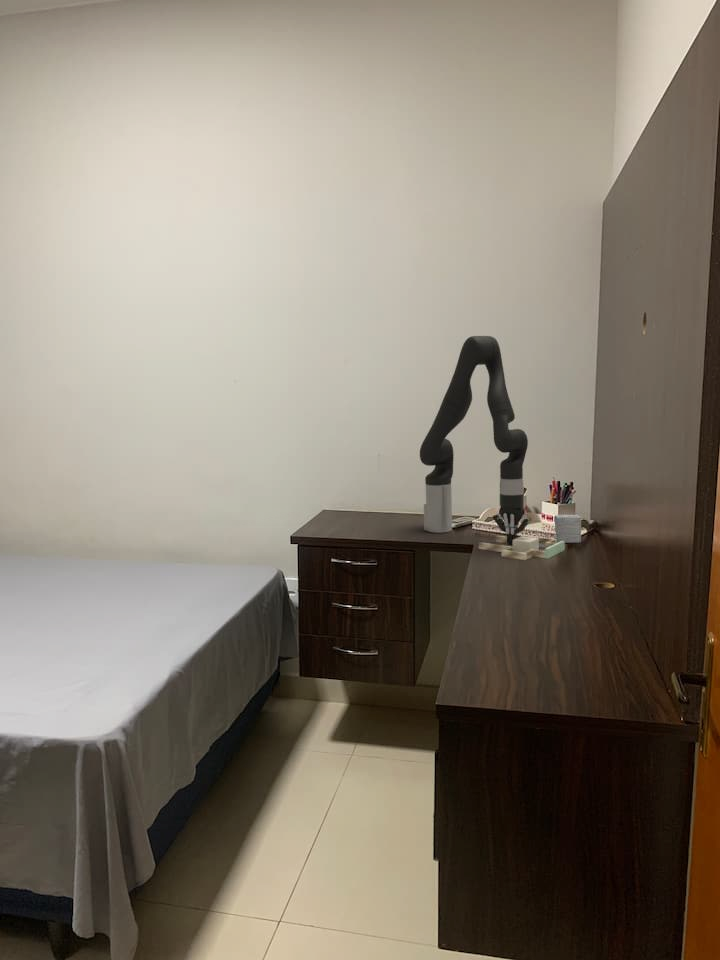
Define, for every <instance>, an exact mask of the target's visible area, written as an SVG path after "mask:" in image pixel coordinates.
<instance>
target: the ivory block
mask: <svg viewBox="0 0 720 960" xmlns="http://www.w3.org/2000/svg"><path fill="white" fill-rule="evenodd" d="M531 537H532V536H530V537H529V536H524V535H523V536H519V537H517V538H516V539H514V540H513V546H512V547H514V551H516V552H523V553H524V552H526V551H528V550H531V549H534V550H540V548H539V538H531Z"/></svg>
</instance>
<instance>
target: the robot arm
mask: <svg viewBox="0 0 720 960" xmlns="http://www.w3.org/2000/svg"><path fill="white" fill-rule="evenodd" d="M481 365H482V366H483V365H484V366H485V368H486V370H487V373H488V379H489V380H488V388H487V396H486V399H487V401H486V402H487V407H488V409H489V412H490V417H491V419H492V428H493V429H492V430H493V443H494V446H495V447H496V449H497V450H498V451H499V452H501V453H505V454H506V453H508V457H507V458H505V459H503V460H502V461H501V462H500V464H499V467H500V468H499V469H500V470H499V473H500V475H499V477H500V478H499V480H500V481H499V510H498V513H496V514H495V515H492V519H493V520H494V522H495V523H496V524H497V526H498V529H500V531H501V532H504V533H505V534H506V537H507V543H508V544H507V543H506V544H507V546H512V547H513V540H514V539H516V538H518V534H519V533H521V532H523V531H524V530H525V528H526V527H527V526H528V525H529V524H530V523H531V521H532V518H531V517H528V516H527V515H526V514H525V510H524V507H525V506H524V504H525V503H524V502H525V501H524V500H525V498H524V493H525V492H524V491H525V489H524V487H525V486H524V479H523V476H524V474H523V468H524V467H523V465H524V462H525V458H526V453H527V450H528V445H529V439H528V435H527V434H526V432H525V431H524V430H523V429H521V428H514V429H509V424H510V423H512V422H513V421H514V420H515V412H514V408H513V405H512V403H511V400H510V397H509V393H508V389H507V385H506V379H505V377H506V376H505V372H504V366H503V365H504V364H503V358H502V354H501V348H500V344H499V342H498V341H497V339H496V338H495V337H494V336H490V335H473V336H469V337H468V338H467V339H466V340H465V341H464V342H463V345H462V347H461V349H460V353H459V356H458V360H457V363H456V366H455V370H454V371H453V375H452V376H451V377H452V378H451V381H450V383H449V386H448V388H447V390H446V392H445V394H444V396H443V399H442V401H441V404H440V406H439V410H438V411H437V413H436V416H435V418H434V420H433V422H432V425H431V427H430V429H429V431H428V432H427V434H426V436H425V437H424V439H423V441H422V444H421V445H420V449H419V459H420V461H421V463H422V464H423V465H425V466H427V467H428V466H429V467H433V466H434V468H433V470H431V472H430V473H428V474H427V475H426V476H425V478H424V481H425V483H424V484H425V504H423V524H424V525H423V527H424V528H423V530H424V531H427V532H429V533H440V534H441V533H449V532H452V530H453V516H452V515H453V509H452V507H453V506H452V504H453V503H452V478H453V474H454V446H453V444H452V443H451V441H450V440H449V439H447V436H448V435H449V434H450V433H451V432H452V431H453V430H454V429H455V428H456V427H458V425H460V423H461V422H462V421H463V420H464V419H465V417H466V415H467V414H468V411H469V409H470V408H471V404H472V401H473V390H472V386H471V380H472V377H473V374H474V372H475V369H476V367H477V366H481ZM520 522H521V523H520ZM519 524H520V525H519Z"/></svg>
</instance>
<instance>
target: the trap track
mask: <svg viewBox="0 0 720 960" xmlns="http://www.w3.org/2000/svg"><path fill="white" fill-rule="evenodd" d="M530 537H531V538H539V550H534V549H531V550H528V551H526V552H524V553H523V552H516V551H514V547H513V546H511V545H508V543H507V536H504V535H503V536H502V535H495V543H496V544H495V543H488V542H478V549H479V550H484V551H491V552H496V553H497V552H499V553H501V557H502V558H506V559H507V558H508V559H515V560H520V561H526V560H528V559H531V558H533V557H535V558H540V559H546V560H548V559H550V558H552V557H555V556H556V555H558V554H560V553H562V552H564V551H565V547H566V546H565V544H566V543H565V541H560V542H558V543H557V542H556V539H555V538H548V537H542V536H536V535H535V536H530ZM497 543H501V544H497ZM503 544H504V545H503ZM505 544H507V545H505ZM541 549H544V550H541Z"/></svg>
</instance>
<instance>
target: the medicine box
mask: <svg viewBox="0 0 720 960" xmlns="http://www.w3.org/2000/svg"><path fill="white" fill-rule="evenodd" d="M555 532H556V543H558V542H560V541H565V544H571V543H572V544H573V543H574V544H576V543H578V544H579V543H582V517H581V516H580V515H579V514H559V515H558V514H555V515H554V533H555Z"/></svg>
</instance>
